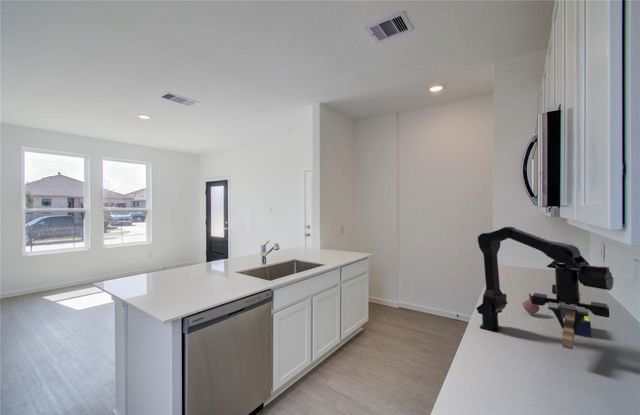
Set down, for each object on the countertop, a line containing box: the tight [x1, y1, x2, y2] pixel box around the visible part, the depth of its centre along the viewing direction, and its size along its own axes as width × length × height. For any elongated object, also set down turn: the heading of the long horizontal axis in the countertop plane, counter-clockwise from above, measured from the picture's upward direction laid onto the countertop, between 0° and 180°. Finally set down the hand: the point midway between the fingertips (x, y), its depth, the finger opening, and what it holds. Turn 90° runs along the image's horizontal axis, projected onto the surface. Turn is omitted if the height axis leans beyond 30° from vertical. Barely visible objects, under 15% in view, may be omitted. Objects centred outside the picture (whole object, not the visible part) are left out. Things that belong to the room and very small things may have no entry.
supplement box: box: [574, 315, 592, 338], centre depth 107 cm, size 6×6×11 cm
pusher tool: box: [561, 306, 584, 351], centre depth 90 cm, size 21×7×4 cm, turn 135°
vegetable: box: [522, 292, 540, 315], centre depth 125 cm, size 6×6×10 cm
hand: (568, 329), depth 89 cm, fingers closed on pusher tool, 2 cm apart
